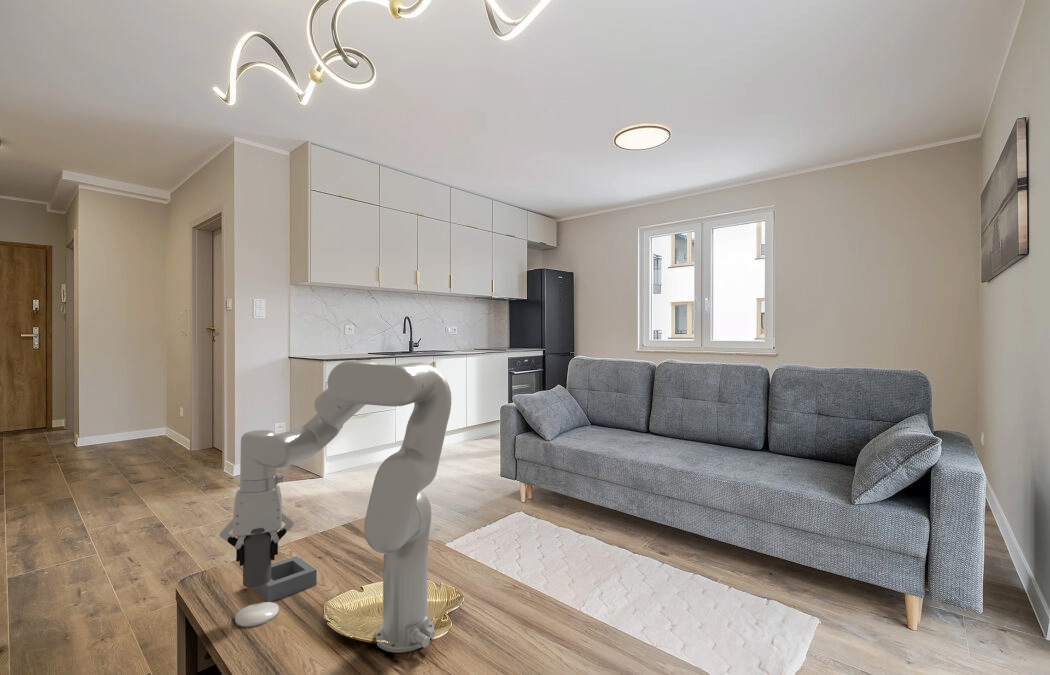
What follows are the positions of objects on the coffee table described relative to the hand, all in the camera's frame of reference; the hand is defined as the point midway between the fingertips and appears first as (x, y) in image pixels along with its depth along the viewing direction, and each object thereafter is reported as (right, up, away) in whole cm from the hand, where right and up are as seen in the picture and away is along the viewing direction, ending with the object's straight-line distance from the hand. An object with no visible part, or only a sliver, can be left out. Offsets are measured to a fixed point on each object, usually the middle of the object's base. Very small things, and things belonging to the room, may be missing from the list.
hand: (257, 560), depth 115 cm
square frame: (-1, -13, +14) cm, 19 cm away
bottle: (0, -5, 0) cm, 5 cm away
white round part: (0, -13, 0) cm, 13 cm away
